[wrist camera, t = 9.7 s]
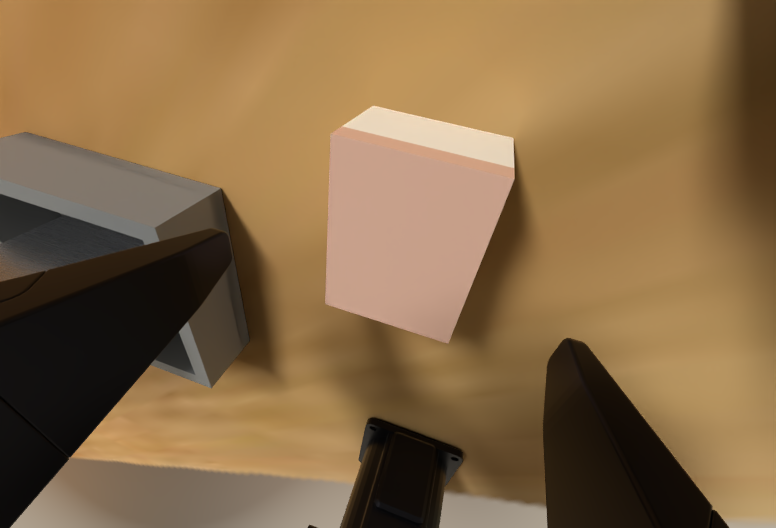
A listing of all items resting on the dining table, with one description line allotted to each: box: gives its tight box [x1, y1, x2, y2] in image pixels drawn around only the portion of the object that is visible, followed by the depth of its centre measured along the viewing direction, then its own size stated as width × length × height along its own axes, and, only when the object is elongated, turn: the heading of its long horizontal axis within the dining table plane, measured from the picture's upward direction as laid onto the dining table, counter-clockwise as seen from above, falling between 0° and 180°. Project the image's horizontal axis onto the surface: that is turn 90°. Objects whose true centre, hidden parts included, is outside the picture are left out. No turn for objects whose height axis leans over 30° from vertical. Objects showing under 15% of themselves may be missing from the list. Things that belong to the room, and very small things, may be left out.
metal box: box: [0, 215, 145, 282], centre depth 16 cm, size 5×5×6 cm
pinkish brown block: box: [325, 106, 515, 344], centre depth 11 cm, size 6×4×4 cm
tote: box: [0, 132, 250, 388], centre depth 17 cm, size 11×11×4 cm
